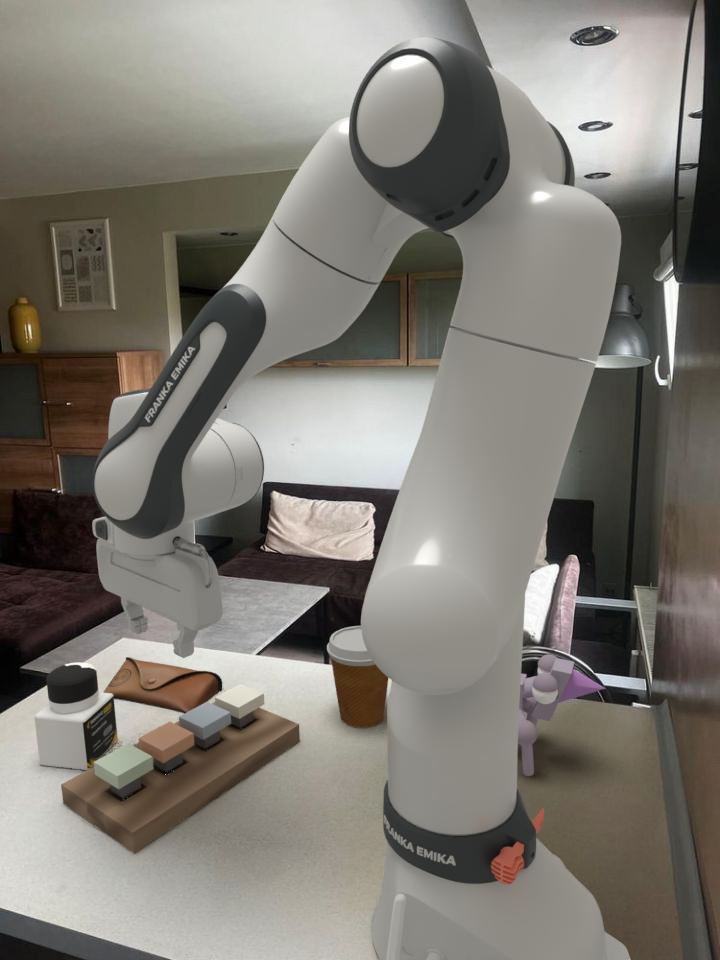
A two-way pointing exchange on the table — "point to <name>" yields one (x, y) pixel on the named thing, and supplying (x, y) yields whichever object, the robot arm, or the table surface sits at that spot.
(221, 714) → the key slate
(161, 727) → the key terracotta
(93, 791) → the wooden board
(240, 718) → the key ivory
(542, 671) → the purple toy figure
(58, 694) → the medicine bottle
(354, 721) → the disposable coffee cup
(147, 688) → the sunglasses case
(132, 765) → the key sage
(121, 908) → the table surface
